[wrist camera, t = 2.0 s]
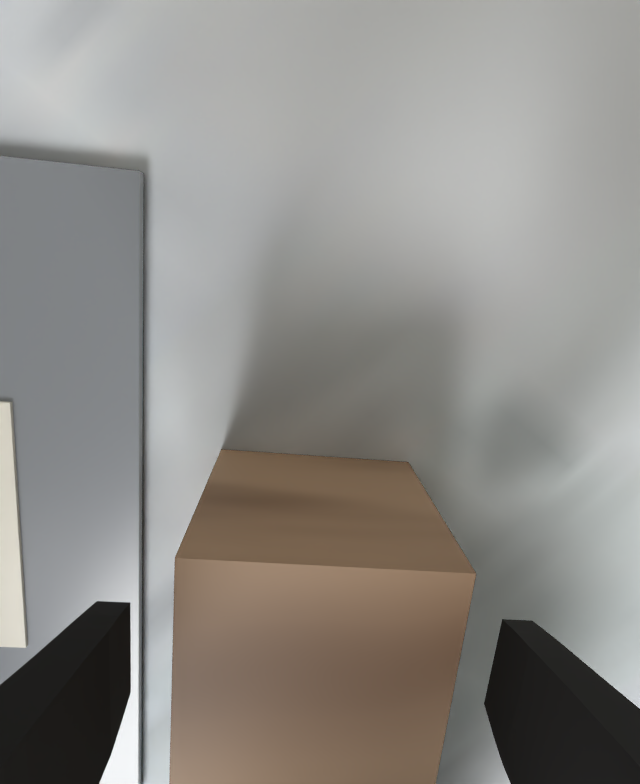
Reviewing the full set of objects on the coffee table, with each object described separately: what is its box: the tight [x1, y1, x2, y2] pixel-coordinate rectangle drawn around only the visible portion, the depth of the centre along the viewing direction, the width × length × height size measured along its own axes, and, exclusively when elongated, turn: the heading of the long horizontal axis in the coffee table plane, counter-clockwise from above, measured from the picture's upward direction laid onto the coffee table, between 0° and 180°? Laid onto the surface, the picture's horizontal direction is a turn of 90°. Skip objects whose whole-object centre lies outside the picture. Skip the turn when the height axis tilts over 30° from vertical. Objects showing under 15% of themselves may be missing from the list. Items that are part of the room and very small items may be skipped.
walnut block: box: [169, 449, 476, 784], centre depth 11 cm, size 5×5×5 cm
